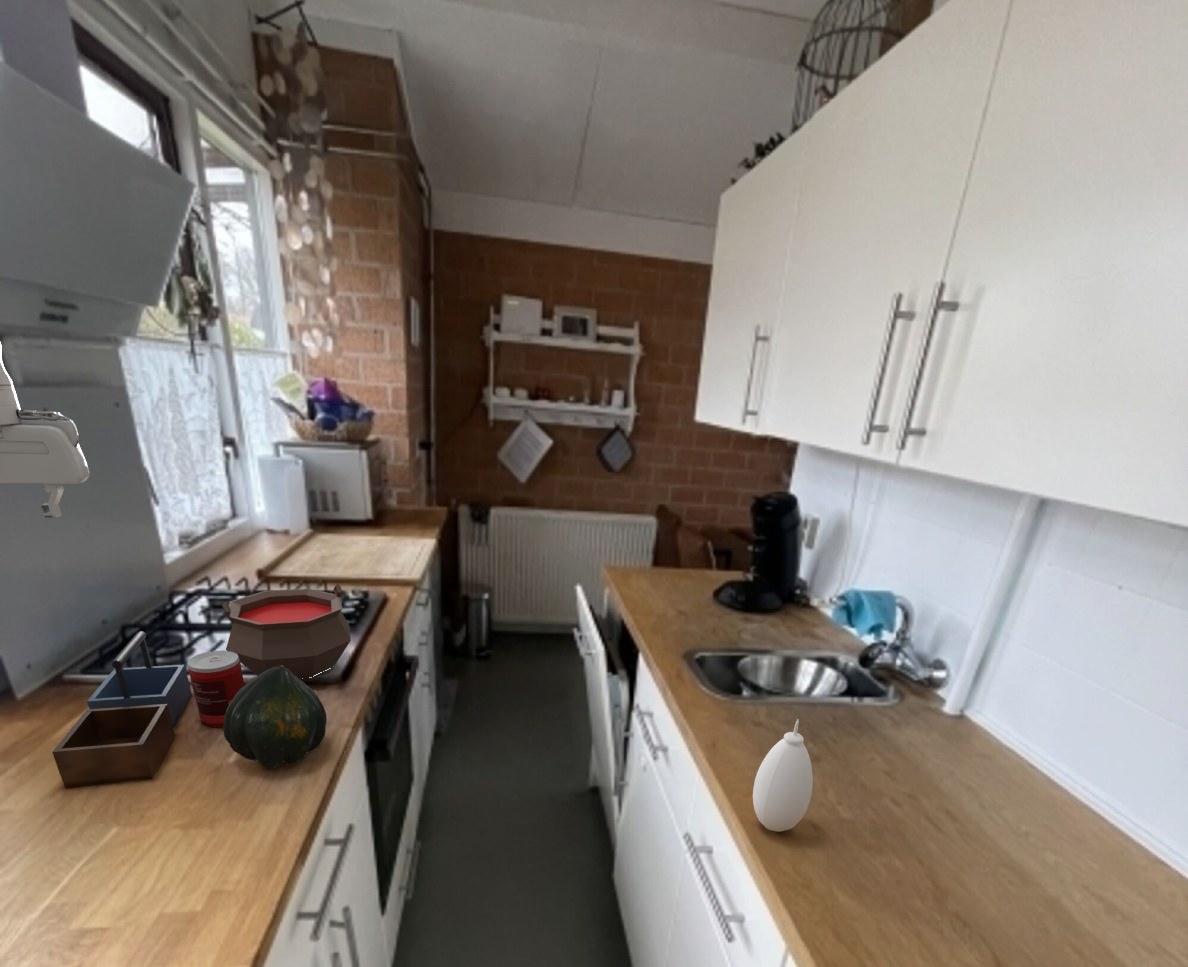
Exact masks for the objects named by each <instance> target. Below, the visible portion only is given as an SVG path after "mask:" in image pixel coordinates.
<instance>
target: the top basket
mask: <svg viewBox="0 0 1188 967" xmlns="http://www.w3.org/2000/svg"><path fill="white" fill-rule="evenodd" d="M146 637H147V634H146V632H144V631H141V630H140V631H137V632H136V634H135V635H134V636H133V637H132V638H131V640H130V641H129V642H128V643H127V644H126V645H125V646H124V647H123V649H122V650H121V651H120V652H119V653H118V655H116V657H115V658H114V659H113V660H112V661H111V667H112V668H114V669H112V671H111V672H110V673H109V674H108V675H107V677H106V678H105V679H104V680H103V681H102V683H101V684H100V685H99V686H98V688H97V689H96V690H94V692H93V693H92V695H91V696H90V697H89V698H88V699H87V700H86V703H87V706H88V709H101V708H116V707H130V706H144V705H158V704H167V706H168V710H169V714H170V717H171V721H172V725H173V729H174V728H175V726H176V724H177V722H178V720H179V719H180V717H181V715H182V713H183V710H184V709H185V707H186V706H187V704H188V701H189V700H190V698H191V696H192V694H193V693H192V690H191V685H190V682H189V677H188V673H187V669H186V665H185V664H172V665H157V666H155V665H153V664H152V659H151V655H150V653H149V649H148V645H147V641H146ZM138 648H140V650H141V655H142V658H143V661H144V662H143V663H144V665H145V666H138V667H137V666H136V667H123V666H124V664H125V663H126V662H127V661H129V659H130V657H131V656H132V655H133V654H134V653H135V651H136V650H137V649H138Z"/></svg>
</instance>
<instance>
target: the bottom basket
mask: <svg viewBox="0 0 1188 967" xmlns="http://www.w3.org/2000/svg"><path fill="white" fill-rule="evenodd" d="M175 737H176V733H175V729H174V728H173V725H172V721H171V717H170V714H169V710H168V706H167V704H158V705H144V706H130V707H116V708H101V709H89V708H88V709H86V710H85V711H84V712H83V714H82V715H80V717H79V718H78V720H77V721H76V722H75V723H74V724H73V726H72V727H71V729H70V730H68V732H67V733H66V734H65V735H64V737H63V738H62V739H61V740H60V742H58V744H57V745H56V746H55V747H54V749H53V750H52V751H51V753H52V756H53V759H54V761H55V764H56V767H57V770H58V773H59V776H60V778H61V782H62V783H63V786H64V788H65V789H67V788H75V787H84V786H85V787H86V786H87V787H88V786H96V785H106V784H108V785H109V784H118V783H126V782H127V783H128V782H136V781H137V782H138V781H148V780H153V779H154V777H155V775H157V774H156V773H157V772H158V770H159V768H160V766H161V764H162V762H163V760H164V759H165V757H166V755H167V753H168V751H169V749H170V747H171V745H172V743H173V742H174V740H175Z"/></svg>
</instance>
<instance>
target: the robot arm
mask: <svg viewBox="0 0 1188 967" xmlns="http://www.w3.org/2000/svg"><path fill="white" fill-rule="evenodd" d="M62 419H63V420H62ZM79 436H80V435H79V433H78V429H77V426H76V424H75V423H74V421H73V420H72V419H71V418H69V417H68V416H66V415H63V414H61V413H60V412H58V411H54V410H46V411H43V410H42V411H41V410H33V409H32V410H31V409H21V405H20V402H19V399H18V394H17V392H16V389H15V385H14V382H13V380H12V378H11V377H10V375H9V374H8V372H7V370H6V367H5V365H4V362H3V346H2V343H1V342H0V484H1V485H43V488H44V491H45V492H46V493H50V496H49V497H48V501H47V502H44V503H43V504H40V509H41V511H42V515H43V517H44V518H50V519H51V518H52V519H53V518H55V519H56V518H60V517H62V512H61V507H60V504H59V503H60V501H61V499H62V496H63V494H64V491H65V488H64V486H63V485H67V486H68V485H70V486H71V485H74V486H75V485H81V484H82V483H85V482H86V481H87V480H88V479H89V477H90V470H89V466H88V463H87V461H86V458H85V456H84V453H83V450H82V448H81V447H80V444H79V443H80V437H79Z"/></svg>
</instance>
